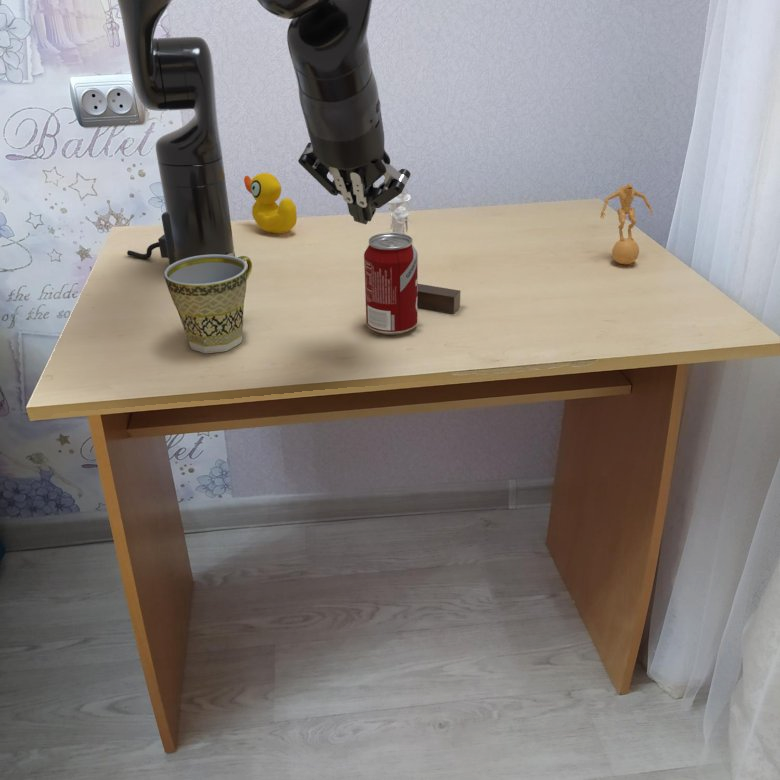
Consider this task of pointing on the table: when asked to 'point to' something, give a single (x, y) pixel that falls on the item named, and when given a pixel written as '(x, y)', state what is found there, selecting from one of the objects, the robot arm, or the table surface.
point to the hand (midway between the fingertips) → (364, 217)
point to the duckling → (270, 204)
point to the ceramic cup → (210, 299)
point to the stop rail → (438, 298)
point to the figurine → (624, 248)
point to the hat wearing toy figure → (400, 212)
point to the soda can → (391, 283)
